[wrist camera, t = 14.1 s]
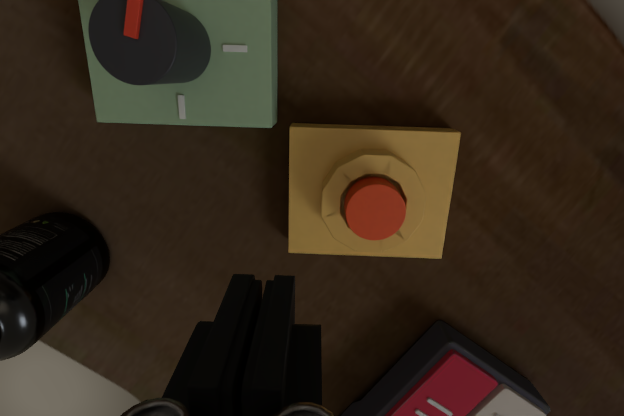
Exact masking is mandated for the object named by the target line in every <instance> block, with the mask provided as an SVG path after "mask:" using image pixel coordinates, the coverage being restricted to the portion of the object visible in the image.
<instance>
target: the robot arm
mask: <svg viewBox="0 0 624 416" xmlns="http://www.w3.org/2000/svg"><path fill="white" fill-rule="evenodd" d="M121 416H335V415H334V414H333V413H332V412H331V411H329V410H328V409H326V408H325V407H323V406H322V369H321V325H308V324H295V276H283V275H275V277H274V280H267V282H266V286H265V290H264V294H263V299H262V281H261V280H255V276H254V275H248V274H234V275H233V276H232V279H231V281H230V284H229V286H228V288H227V291H226V293H225V296H224V298H223V300H222V303H221V305H220V308H219V310H218V312H217V315H216V317H215V320H214V322H206V321H200V322H198V324H197V325H196V327H195V329H194V331H193V333H192V335H191V337H190V339H189V342H188V344H187V346H186V348H185V350H184V352H183V354H182V356H181V358H180V360H179V363H178V365H177V367H176V369H175V371H174V373H173V375H172V377H171V379H170V381H169V384H168V386H167V388H166V390H165V392H164V394H163V396H162V398H155V399H150V400H146V401H143V402H141V403H139V404H137V405H134V406H133V407H131V408H130V409H128V410H127V411H126V412H124V413H123V414H122V415H121Z"/></svg>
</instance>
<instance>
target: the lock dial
mask: <svg viewBox="0 0 624 416" xmlns="http://www.w3.org/2000/svg"><path fill="white" fill-rule="evenodd" d="M88 33H89V40H90V44H91V47H92V50H93V52H94V55H95V57H96V58H97V60H98V61H99V63H100V64H101V65H102V67H103V68H104V69H105V70H106V71H107V72H108V73H109V74H111V75H112V76H113V77H115V78H116V79H118V80H120V81H122V82H124V83H127V84H131V85H157V84H173V83H186V82H190V81H193V80H195V79H196V78H198V77H199V76H200V75H201V74H202V73H203V72H204V71H205V69H206V68H207V66H208V63H209V60H210V56H211V44H210V39H209V36H208V33H207V31H206V29H205V28H204V26H203V25H202V23H201V22H200V21H199V20H198V19H197V18H196V17H195V16H193V15H192V14H190V13H189V12H187V11H185V10H182V9H180V8H178V7H176V6H174V5H171V4H169V3H167V2H165V1H163V0H99V1H98V2H97V3H96V5H95V6H94V8H93V10H92V12H91V15H90V19H89V26H88Z"/></svg>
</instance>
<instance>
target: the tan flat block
mask: <svg viewBox="0 0 624 416" xmlns="http://www.w3.org/2000/svg"><path fill="white" fill-rule="evenodd" d="M460 136H461V132H459V131H456V130H454V129H452V128H429V127H399V126H368V125H338V124H308V123H292V124H291V126H290V127H289V236H288V252H289V253H309V254H334V255H359V256H385V257H410V258H435V259H441V258H442V251H443V245H444V238H445V232H446V226H447V219H448V213H449V206H450V200H451V194H452V187H453V181H454V174H455V168H456V162H457V155H458V149H459V142H460ZM367 177H380V178H383V179H386V180H388V181H389V182H391V183H392V184H393V185H394V186H395V187H396V188H397V190H398V192H399V193H400V195H401V196H402V198H403V200H404V202H405V206H406V216H405V220H404V222H403V224H402V226H401V227H400V229H399V230H398V231H397V232H396V233H395V234H393V235H392V236H390V237H388V238H386V239H382V240H367V239H364V238H361V237H359V236H358V235H356V234H355V233H354V232H353V231H352V230H351V229H350V227H349V225H348V223H347V220H346V215H345V208H344V201H345V197H346V194H347V192H348V190H349V189H350V188H351V187H352V186H353V185H354V184H355V183H356V182H358V181H359V180H361V179H364V178H367Z"/></svg>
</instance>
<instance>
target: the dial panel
mask: <svg viewBox="0 0 624 416" xmlns="http://www.w3.org/2000/svg"><path fill="white" fill-rule="evenodd" d="M98 1H99V0H78V3H79V9H80V15H81V22H82V28H83V35H84V41H85V48H86V54H87V61H88V67H89V74H90V80H91V87H92V93H93V100H94V106H95V113H96V119H97V122H107V123H137V124H167V125H197V126H227V127H257V128H272V127H273V126H274V125H275V124H276V123H277V0H163V1H165V2H167V3H169V4H171V5H174V6H176V7H178V8H180V9H182V10H185V11H187V12H189V13H190V14H192V15H193V16H195V17H196V18H197V19H198V20H199V21H200V22H201V23H202V25H203V26H204V28H205V29H206V31H207V33H208V36H209V39H210V44H211V56H210V60H209V63H208V66H207V68H206V69H205V71H204V72H203V73H202V74H201V75H200V76H199V77H198V78H196V79H195V80H193V81H190V82H186V83H173V84H157V85H131V84H127V83H124V82H122V81H120V80H118V79H116V78H115V77H113V76H112V75H111V74H109V73H108V72H107V71H106V70H105V69H104V68H103V67H102V65H101V64H100V63H99V61H98V60H97V58H96V57H95V55H94V52H93V50H92V47H91V44H90V40H89V33H88V26H89V19H90V15H91V12H92V10H93V8H94V6H95V5H96V3H97V2H98Z"/></svg>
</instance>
